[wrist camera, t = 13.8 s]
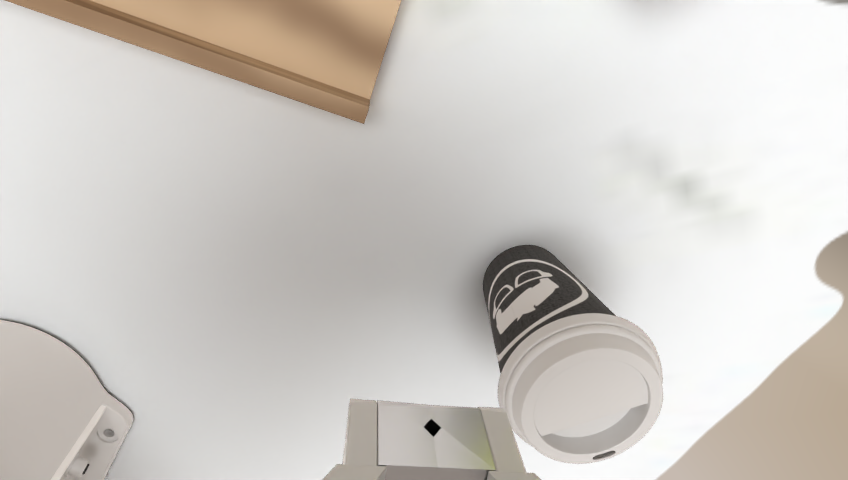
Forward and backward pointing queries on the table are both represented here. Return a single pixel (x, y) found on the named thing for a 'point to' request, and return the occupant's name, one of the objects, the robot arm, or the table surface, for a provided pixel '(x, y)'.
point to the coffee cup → (568, 361)
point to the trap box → (256, 41)
